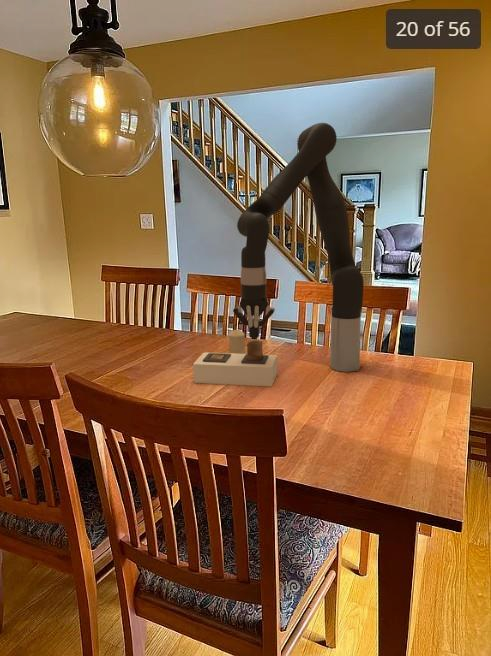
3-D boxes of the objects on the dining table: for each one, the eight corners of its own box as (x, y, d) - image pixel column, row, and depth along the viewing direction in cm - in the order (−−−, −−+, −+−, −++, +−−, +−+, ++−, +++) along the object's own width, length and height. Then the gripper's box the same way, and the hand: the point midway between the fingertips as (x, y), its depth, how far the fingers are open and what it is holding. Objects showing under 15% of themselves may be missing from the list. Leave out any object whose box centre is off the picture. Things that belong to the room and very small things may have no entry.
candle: (243, 360, 170) (242, 332, 168) (227, 359, 171) (227, 332, 169) (246, 355, 175) (245, 328, 173) (231, 355, 177) (230, 328, 174)
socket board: (277, 372, 157) (277, 353, 155) (271, 386, 146) (271, 365, 144) (204, 369, 162) (203, 350, 160) (193, 382, 150) (192, 362, 149)
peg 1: (225, 375, 156) (224, 355, 155) (222, 379, 153) (221, 358, 151) (213, 374, 157) (212, 354, 155) (210, 378, 153) (209, 358, 152)
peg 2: (262, 361, 153) (262, 340, 151) (260, 365, 149) (260, 344, 147) (249, 360, 154) (249, 340, 152) (247, 364, 150) (247, 343, 148)
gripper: (277, 280, 147) (277, 336, 152) (234, 279, 150) (235, 334, 154) (274, 284, 140) (274, 343, 145) (228, 283, 143) (230, 341, 147)
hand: (254, 338), depth 149 cm, fingers closed
